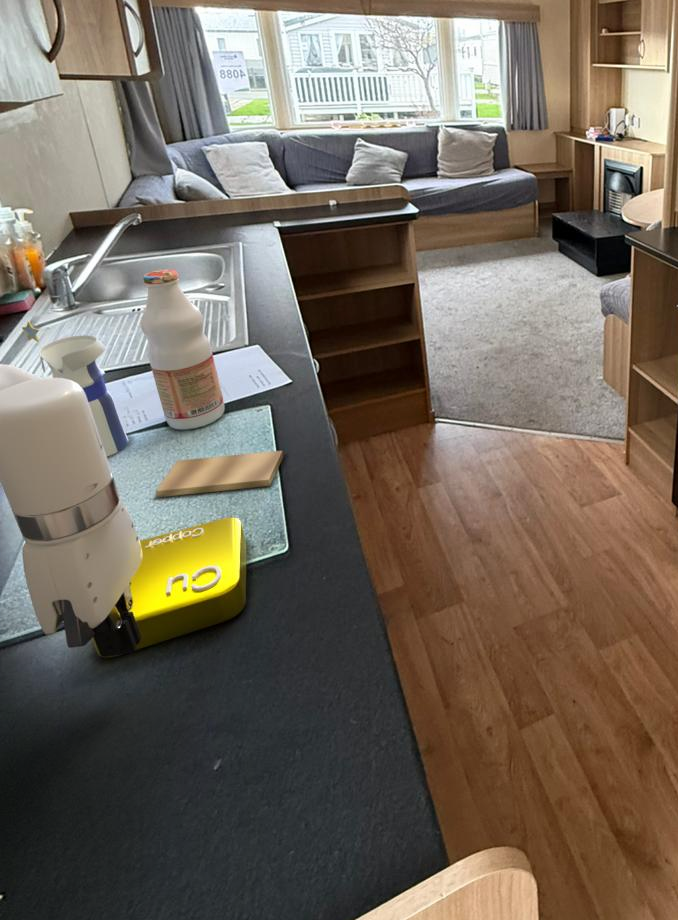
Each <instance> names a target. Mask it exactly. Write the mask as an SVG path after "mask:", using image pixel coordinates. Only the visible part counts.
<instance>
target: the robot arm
mask: <svg viewBox="0 0 678 920" xmlns="http://www.w3.org/2000/svg"><path fill="white" fill-rule="evenodd" d="M0 484H1V487H2V489H3V492H4V494H5V497H6V499H7V502H8V504H9V507H10V509H11V512H12V514H13V516H14V519H15V522H16V524H17V526H18V529H19V532H20V533H21V536H22V538H23V540H24V541H25V543H24V544H23V546H22V548H21V549H22V550H21V551H22V552H21V553H22V554H21V555H22V565H23V572H24V575H25V576H24V577H25V582H26V585H27V590H28V594H29V597H30V601H31V603H32V606H33V610H34V613H35V617H36V619H37V621H38V624H39V625H40V628H41V630H42V632H43V633H44V634H45V635H53V634H56V632H57V631H58V630H59V628H60V627H61V625H62V624H63V627H64V632H65V638H66V645H67V647H68V648H69V649H71V648H80V647H85V646H86V645H87V644H89V642H90V641H92V638H93V637H94V640H95V642H96V645H97V648H98V650H99V653H100V655H101V656H103V657H102V658H104V657H107V656H114V655H119V656H122V655H127V654H133V653H134V652H135V651H136V650H135V649H136V647H137V645H136V644H138V643H139V642H140V640H141V635H140V632H139V629H138V626H137V623H136V620H135V617H134V615H133V612H129V611H130V610H131V609H132V607H133V598H132V594H131V589H130V585H131V580H132V578H133V576H134V575H135V573H136V571H137V570H138V568H139V566H140V564H141V561H142V558H143V554H142V548H141V544H140V538H139V535H138V532H137V529H136V527H135V525H134V522H133V519H132V517H131V515H130V513H129V512H128V508H127V507H126V504H125V503H124V502H123V499H122V498H121V496H120V493H119V490H118V487H117V483H116V480H115V477H114V474H113V472H112V469H111V466H110V463H109V460H108V456H107V457H106V453H105V450H104V447H103V444H102V441H101V438H100V435H99V432H98V429H97V426H96V424H95V421H94V418H93V415H92V412H91V409H90V406H89V403H88V400H87V397H86V394H85V392H84V390H83V389H82V387H81V386H79V385H78V384H77V383H76V382H74V381H72V380H68V379H64V378H46V377H41V376H38V375H37V374H34V373H32V372H30V371H28V370H25V369H23V368H21V367H18V366H14V365H10V364H4V363H0ZM121 654H122V655H121ZM101 656H100V657H101Z"/></svg>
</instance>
